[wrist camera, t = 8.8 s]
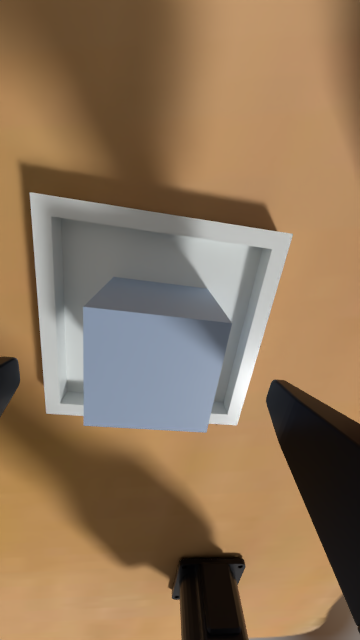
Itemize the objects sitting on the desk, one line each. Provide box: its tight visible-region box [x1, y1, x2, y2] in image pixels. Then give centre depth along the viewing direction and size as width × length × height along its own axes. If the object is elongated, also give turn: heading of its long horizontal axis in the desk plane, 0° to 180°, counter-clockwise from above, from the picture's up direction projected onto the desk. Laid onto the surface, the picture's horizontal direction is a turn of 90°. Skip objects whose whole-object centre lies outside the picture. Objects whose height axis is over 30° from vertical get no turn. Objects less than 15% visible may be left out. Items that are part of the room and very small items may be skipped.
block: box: [83, 277, 232, 432], centre depth 11 cm, size 5×5×5 cm
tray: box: [30, 192, 293, 425], centre depth 13 cm, size 12×12×2 cm
